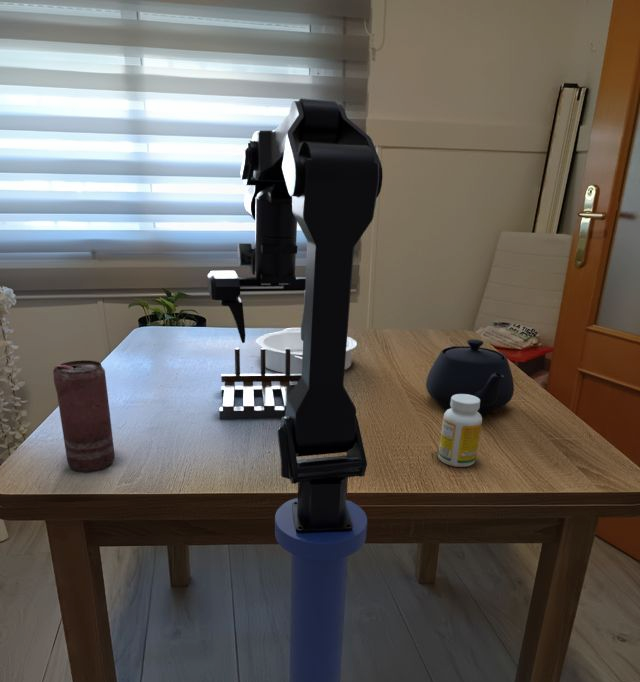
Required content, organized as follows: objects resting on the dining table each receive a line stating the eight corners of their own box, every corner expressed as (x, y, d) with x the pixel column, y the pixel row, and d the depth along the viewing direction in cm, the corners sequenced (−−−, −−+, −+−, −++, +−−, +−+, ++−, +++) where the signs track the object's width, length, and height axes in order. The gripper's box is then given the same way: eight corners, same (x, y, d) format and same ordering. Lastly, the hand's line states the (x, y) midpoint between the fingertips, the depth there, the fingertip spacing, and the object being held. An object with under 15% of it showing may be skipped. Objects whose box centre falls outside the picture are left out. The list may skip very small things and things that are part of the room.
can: (67, 455, 81) (53, 360, 76) (115, 451, 83) (104, 357, 78) (64, 475, 76) (48, 373, 70) (114, 469, 78) (103, 370, 72)
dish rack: (338, 418, 98) (340, 369, 94) (219, 420, 95) (217, 370, 92) (327, 391, 111) (328, 347, 107) (222, 392, 108) (220, 347, 105)
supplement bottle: (434, 463, 83) (442, 400, 79) (442, 449, 87) (450, 389, 84) (472, 471, 81) (481, 407, 77) (478, 456, 85) (487, 395, 82)
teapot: (410, 385, 116) (416, 325, 112) (484, 385, 118) (493, 326, 113) (447, 433, 93) (456, 360, 89) (538, 432, 95) (552, 361, 90)
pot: (370, 381, 118) (372, 358, 116) (262, 384, 114) (262, 360, 112) (341, 345, 144) (342, 326, 142) (251, 347, 140) (251, 327, 138)
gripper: (324, 224, 89) (318, 322, 96) (201, 222, 84) (205, 325, 91) (346, 239, 79) (338, 345, 87) (210, 237, 74) (213, 350, 82)
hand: (273, 340), depth 87 cm, fingers open, 9 cm apart
